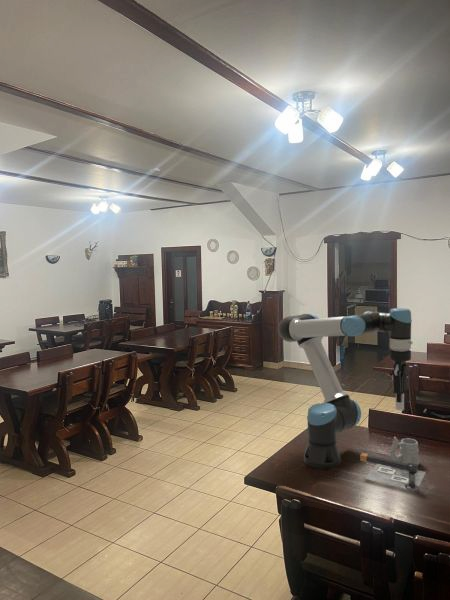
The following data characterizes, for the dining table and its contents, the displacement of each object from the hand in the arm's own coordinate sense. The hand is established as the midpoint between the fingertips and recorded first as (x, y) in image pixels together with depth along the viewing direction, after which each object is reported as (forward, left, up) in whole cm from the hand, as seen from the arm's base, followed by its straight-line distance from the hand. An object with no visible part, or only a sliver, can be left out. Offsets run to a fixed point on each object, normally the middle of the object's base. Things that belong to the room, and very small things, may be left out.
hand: (399, 409), depth 174 cm
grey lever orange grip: (-2, -10, -19) cm, 21 cm away
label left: (-4, -2, -25) cm, 25 cm away
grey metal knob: (+7, -10, -26) cm, 28 cm away
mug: (0, +9, -26) cm, 27 cm away
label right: (+2, -6, -25) cm, 26 cm away
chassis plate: (0, -3, -26) cm, 26 cm away
